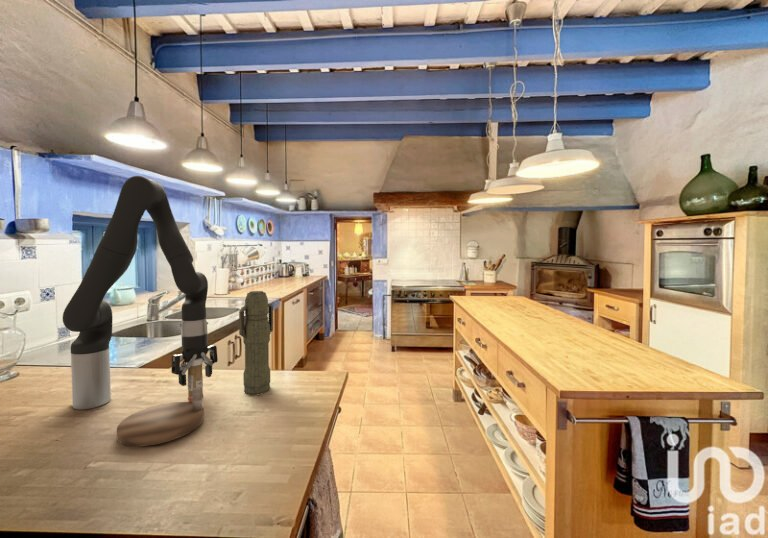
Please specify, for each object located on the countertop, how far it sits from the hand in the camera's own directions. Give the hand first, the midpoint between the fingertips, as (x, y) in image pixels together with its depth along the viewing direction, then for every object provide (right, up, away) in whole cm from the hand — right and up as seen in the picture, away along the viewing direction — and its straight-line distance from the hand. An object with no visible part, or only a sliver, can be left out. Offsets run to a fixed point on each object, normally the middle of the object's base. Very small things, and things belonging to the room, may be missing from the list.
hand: (196, 380), depth 112 cm
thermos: (+17, -6, +8) cm, 20 cm away
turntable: (+1, -7, -19) cm, 20 cm away
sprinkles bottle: (0, -6, 0) cm, 6 cm away
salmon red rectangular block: (+3, -6, -7) cm, 10 cm away
